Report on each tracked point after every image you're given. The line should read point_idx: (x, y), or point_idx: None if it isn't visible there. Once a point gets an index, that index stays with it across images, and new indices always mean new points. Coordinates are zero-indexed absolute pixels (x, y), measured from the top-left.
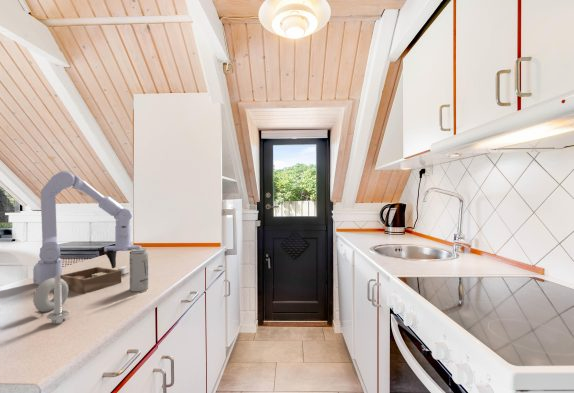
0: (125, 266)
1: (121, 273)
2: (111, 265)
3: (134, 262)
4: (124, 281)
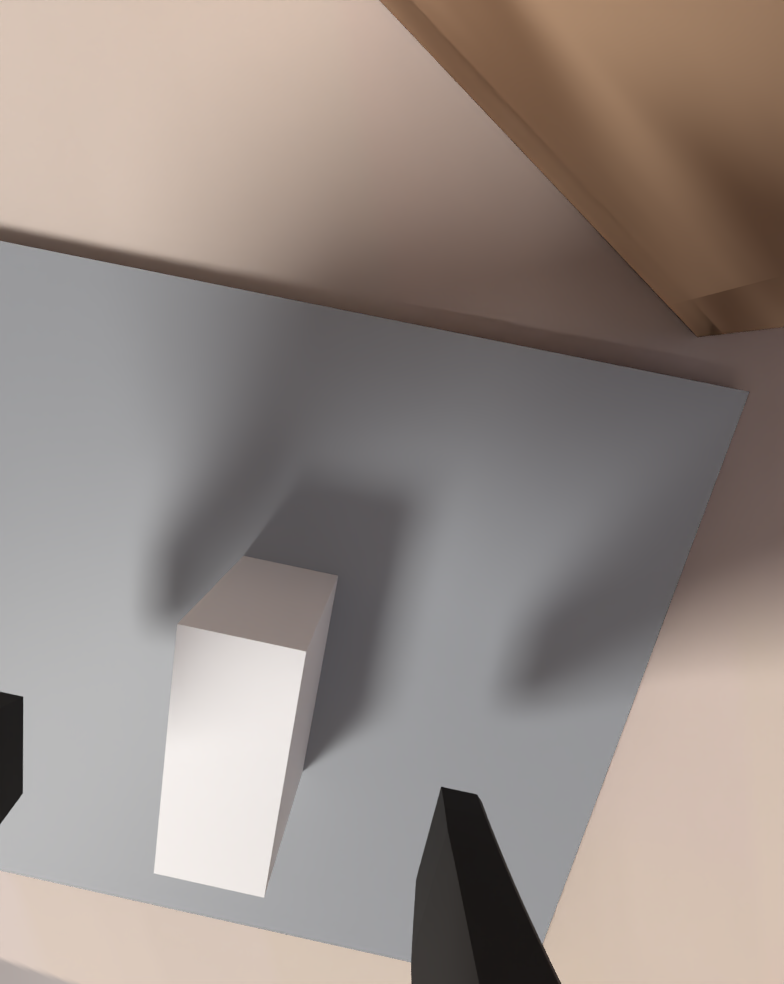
0: (184, 839)
1: (258, 575)
2: (500, 853)
3: None
4: (96, 46)
